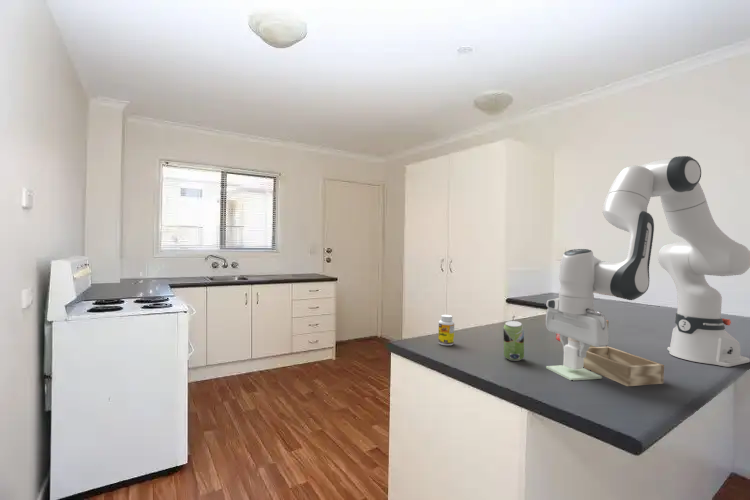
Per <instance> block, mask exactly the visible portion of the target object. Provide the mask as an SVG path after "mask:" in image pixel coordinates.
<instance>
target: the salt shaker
mask: <svg viewBox="0 0 750 500" xmlns="http://www.w3.org/2000/svg"><path fill="white" fill-rule="evenodd" d="M580 348H581V346H580V341H577V340H575V339H572V338H569V337H568V344H567V345H565V346H564V350H563V364H562V365H564V366H565V367H568V368H571V369H573V370H577V369H582V368H583V367H584V358H581V357H579V356H578V350H580Z"/></svg>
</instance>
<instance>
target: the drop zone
mask: <svg viewBox="0 0 750 500" xmlns="http://www.w3.org/2000/svg"><path fill="white" fill-rule="evenodd" d="M545 369H547V370H549V371H551V372H553V373H555V374H557V375H559V376H561V377H563V378H565V379H567V380H569V381H571V380H573V381H585V380H587V381H588V380H597V379H600V380H601V379H603V376H602V375H600V374H597V373H595V372H593V371H590V370H588V369H586V368H582V369H577V370H573V369H571V368H568V367H565V366H564V365H563V364H561V365H560V364H558V365H545Z"/></svg>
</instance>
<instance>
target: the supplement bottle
mask: <svg viewBox="0 0 750 500" xmlns="http://www.w3.org/2000/svg"><path fill="white" fill-rule="evenodd" d="M437 334H438V335H437V337H438V339H437V342H438V344H439V345H441V346H453V345H454V342H455V321H453V315H451V314H450V315H449V314H442V315H441V316H440V320H438V333H437Z"/></svg>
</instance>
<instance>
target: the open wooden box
mask: <svg viewBox="0 0 750 500" xmlns="http://www.w3.org/2000/svg"><path fill="white" fill-rule="evenodd" d="M584 369H586V370H589V371H590V370H591V372H593V373H595V374H598V375H600V376H602V377H604V378H606V379H609V380H611V381H614V382H616V383H619V384H621V385H623V386H625V387H635V386H647V385H663V384H664V379H665V365H664V364H662V363H659V362H656V361H653V360H650V359H647V358H644V357H642V356H638V355H636V354H632V353H629V352H626V351H623V350H621V349H618V348H614V347H611V346H608V345H607V346H606V347H589V349H588V350H587V351H586V357H585V358H584Z"/></svg>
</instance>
